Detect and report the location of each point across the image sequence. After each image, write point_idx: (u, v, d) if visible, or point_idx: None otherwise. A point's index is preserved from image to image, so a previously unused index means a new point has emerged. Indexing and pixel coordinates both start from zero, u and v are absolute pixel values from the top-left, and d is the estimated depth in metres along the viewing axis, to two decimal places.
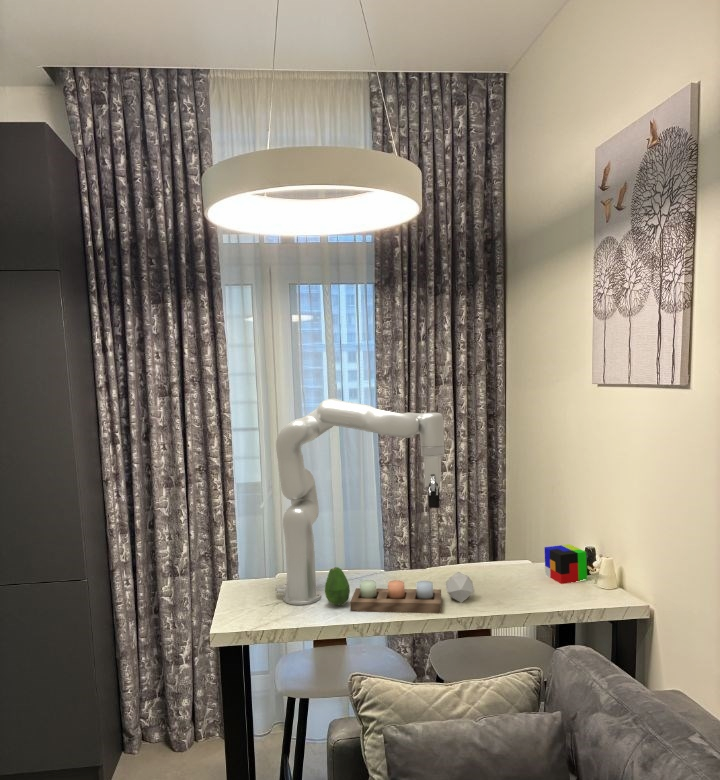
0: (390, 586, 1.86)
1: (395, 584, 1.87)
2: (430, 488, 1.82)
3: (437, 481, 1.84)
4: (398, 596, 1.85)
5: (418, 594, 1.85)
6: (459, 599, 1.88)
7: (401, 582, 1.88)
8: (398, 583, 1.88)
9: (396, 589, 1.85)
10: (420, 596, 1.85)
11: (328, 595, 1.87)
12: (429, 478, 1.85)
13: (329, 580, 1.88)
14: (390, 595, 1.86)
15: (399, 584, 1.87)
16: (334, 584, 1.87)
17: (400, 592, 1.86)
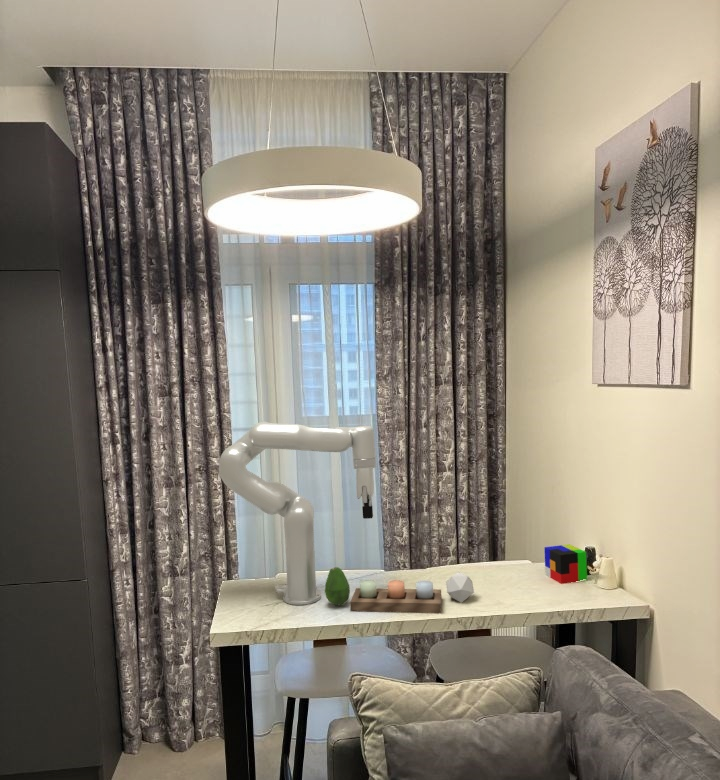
0: (390, 586, 1.86)
1: (395, 584, 1.87)
2: (363, 500, 1.95)
3: (368, 492, 1.92)
4: (398, 596, 1.85)
5: (418, 594, 1.85)
6: (459, 599, 1.88)
7: (401, 582, 1.88)
8: (398, 583, 1.88)
9: (396, 589, 1.85)
10: (420, 596, 1.85)
11: (328, 595, 1.87)
12: (361, 489, 1.92)
13: (329, 580, 1.88)
14: (390, 595, 1.86)
15: (399, 584, 1.87)
16: (334, 584, 1.87)
17: (400, 592, 1.86)
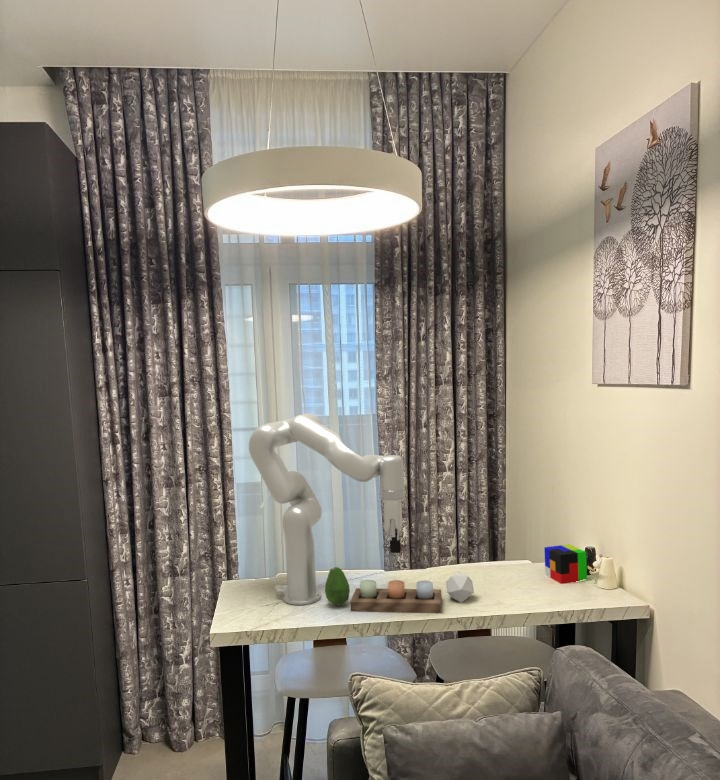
0: (390, 586, 1.86)
1: (395, 584, 1.87)
2: (391, 534, 1.85)
3: (397, 526, 1.82)
4: (398, 596, 1.85)
5: (418, 594, 1.85)
6: (459, 599, 1.88)
7: (401, 582, 1.88)
8: (398, 583, 1.88)
9: (396, 589, 1.85)
10: (420, 596, 1.85)
11: (328, 595, 1.87)
12: (389, 523, 1.83)
13: (329, 580, 1.88)
14: (390, 595, 1.86)
15: (399, 584, 1.87)
16: (334, 584, 1.87)
17: (400, 592, 1.86)
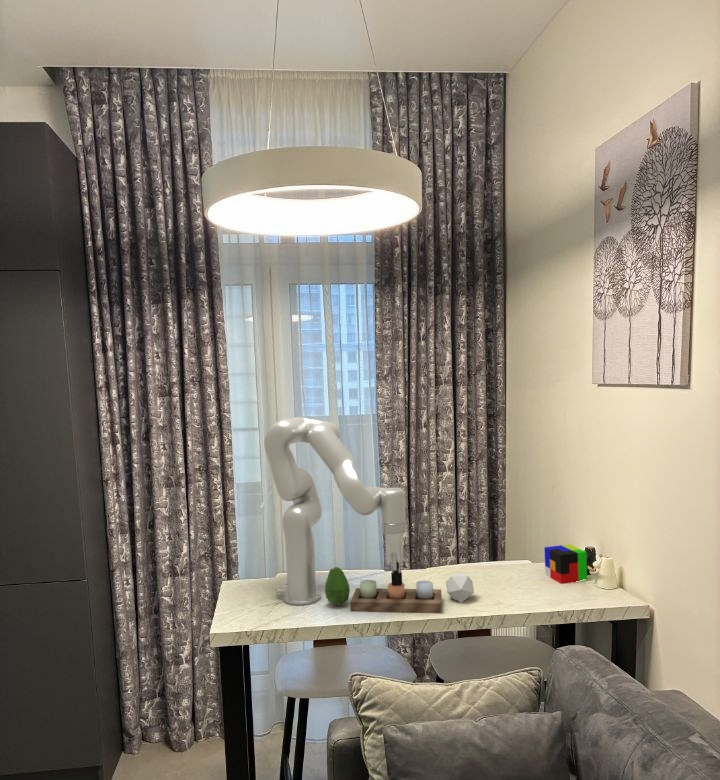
0: (390, 588, 1.86)
1: (395, 586, 1.87)
2: (392, 567, 1.85)
3: (398, 559, 1.83)
4: (398, 598, 1.85)
5: (418, 594, 1.85)
6: (459, 599, 1.88)
7: None
8: None
9: (396, 591, 1.85)
10: (420, 596, 1.85)
11: (328, 595, 1.87)
12: (390, 556, 1.83)
13: (329, 580, 1.88)
14: (390, 597, 1.86)
15: (399, 586, 1.87)
16: (334, 584, 1.87)
17: (400, 594, 1.86)
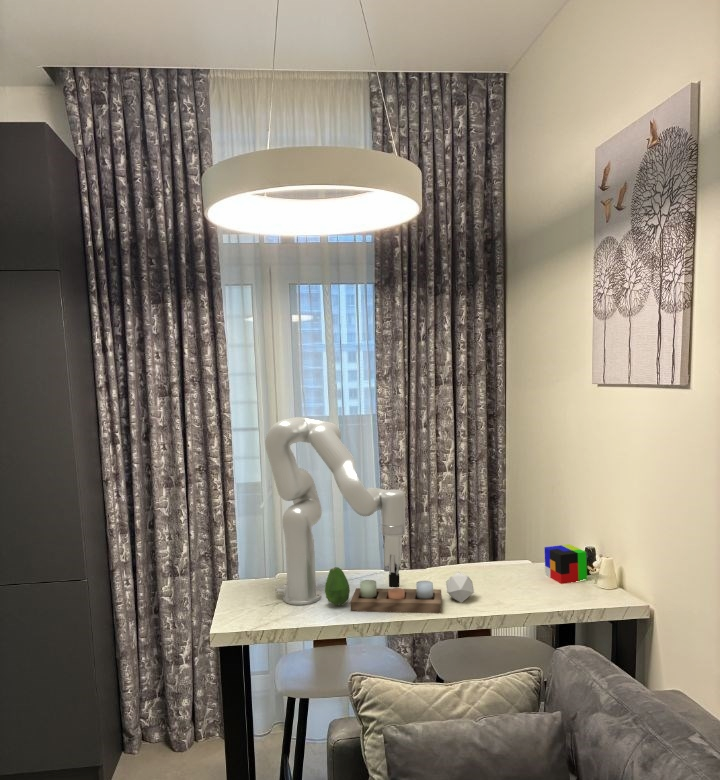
0: (390, 594, 1.86)
1: (395, 592, 1.87)
2: (390, 569, 1.85)
3: (396, 561, 1.83)
4: None
5: (418, 594, 1.85)
6: (459, 599, 1.88)
7: (401, 590, 1.88)
8: (399, 591, 1.88)
9: (396, 597, 1.85)
10: (420, 596, 1.85)
11: (328, 595, 1.87)
12: (388, 558, 1.83)
13: (329, 580, 1.88)
14: None
15: (399, 592, 1.87)
16: (334, 584, 1.87)
17: None
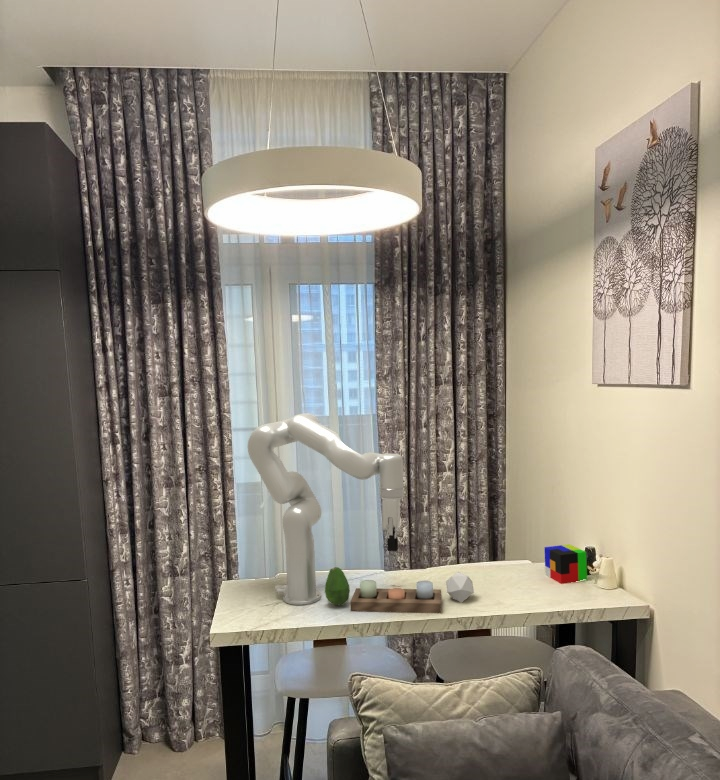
0: (390, 594, 1.86)
1: (395, 592, 1.87)
2: (388, 532, 1.85)
3: (394, 524, 1.83)
4: None
5: (418, 594, 1.85)
6: (459, 599, 1.88)
7: (401, 590, 1.88)
8: (399, 591, 1.88)
9: (396, 597, 1.85)
10: (420, 596, 1.85)
11: (328, 595, 1.87)
12: (386, 521, 1.83)
13: (329, 580, 1.88)
14: None
15: (399, 592, 1.87)
16: (334, 584, 1.87)
17: None
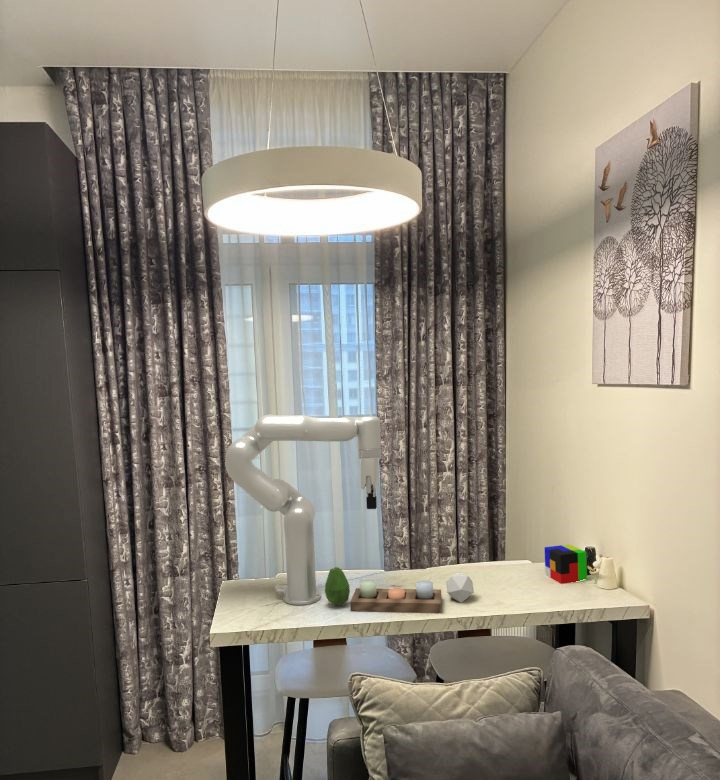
0: (390, 594, 1.86)
1: (395, 592, 1.87)
2: None
3: (372, 482, 1.91)
4: None
5: (418, 594, 1.85)
6: (459, 599, 1.88)
7: (401, 590, 1.88)
8: (399, 591, 1.88)
9: (396, 597, 1.85)
10: (420, 596, 1.85)
11: (328, 595, 1.87)
12: (365, 479, 1.92)
13: (329, 580, 1.88)
14: None
15: (399, 592, 1.87)
16: (334, 584, 1.87)
17: None
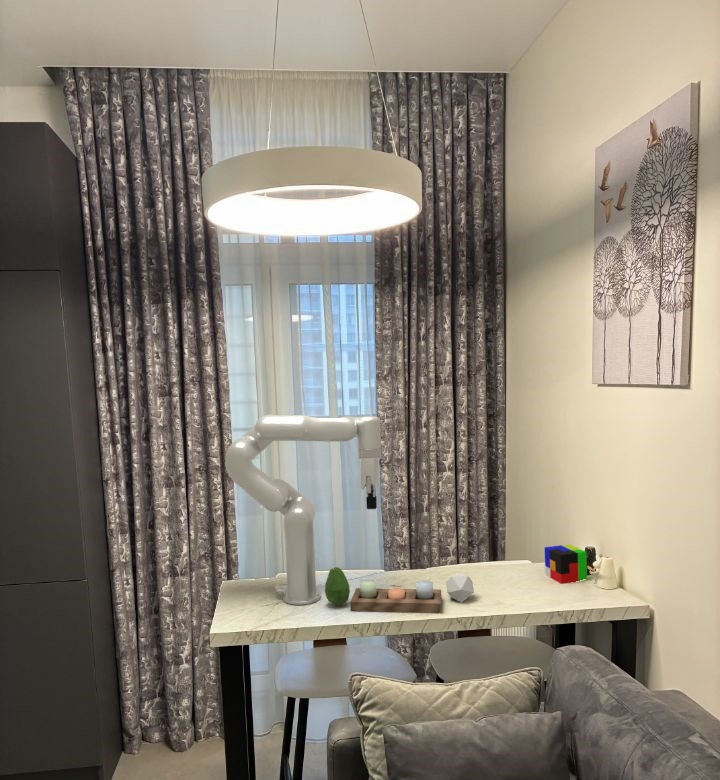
0: (390, 594, 1.86)
1: (395, 592, 1.87)
2: None
3: (372, 482, 1.91)
4: None
5: (418, 594, 1.85)
6: (459, 599, 1.88)
7: (401, 590, 1.88)
8: (399, 591, 1.88)
9: (396, 597, 1.85)
10: (420, 596, 1.85)
11: (328, 595, 1.87)
12: (365, 479, 1.92)
13: (329, 580, 1.88)
14: None
15: (399, 592, 1.87)
16: (334, 584, 1.87)
17: None
